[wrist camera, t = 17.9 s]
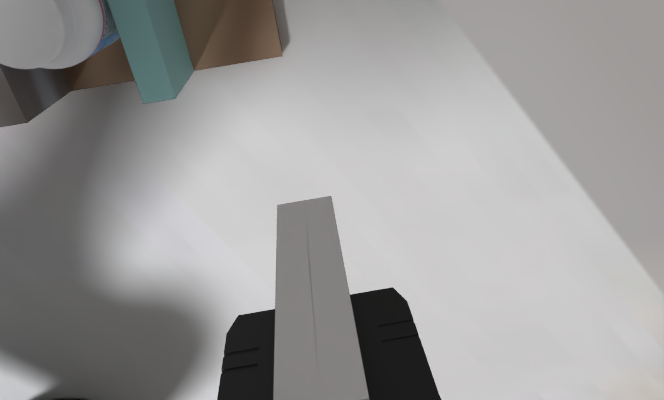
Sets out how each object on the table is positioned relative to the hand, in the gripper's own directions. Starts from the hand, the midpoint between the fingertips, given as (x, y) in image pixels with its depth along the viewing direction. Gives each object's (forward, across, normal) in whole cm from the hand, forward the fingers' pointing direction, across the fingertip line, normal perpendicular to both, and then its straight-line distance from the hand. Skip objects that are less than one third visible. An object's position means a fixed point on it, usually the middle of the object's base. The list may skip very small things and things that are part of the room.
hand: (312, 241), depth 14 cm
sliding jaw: (+25, -9, +6) cm, 27 cm away
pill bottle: (+26, -13, +6) cm, 29 cm away
